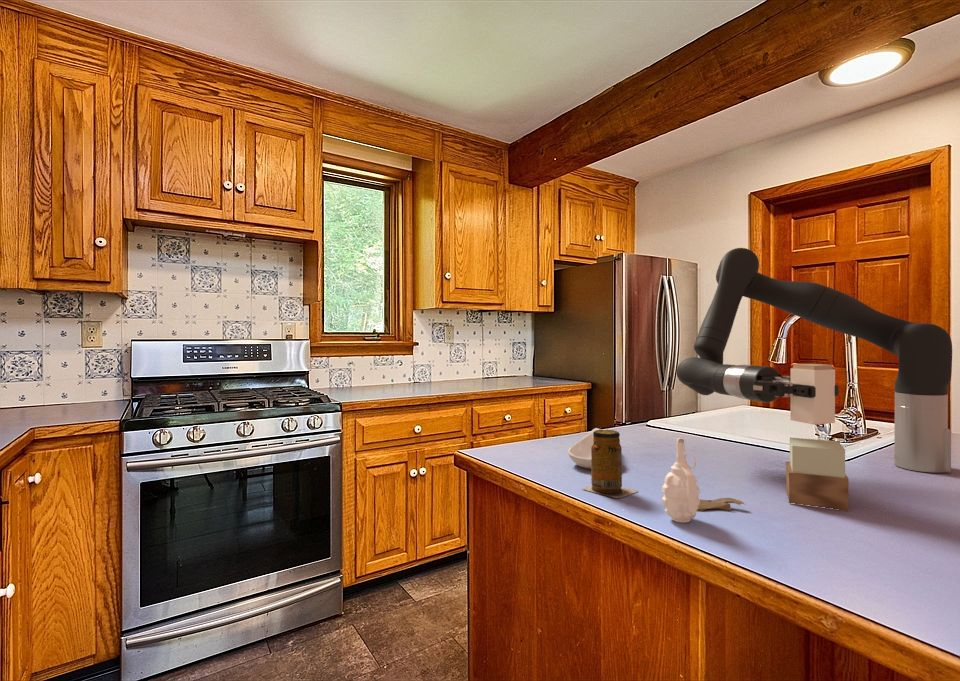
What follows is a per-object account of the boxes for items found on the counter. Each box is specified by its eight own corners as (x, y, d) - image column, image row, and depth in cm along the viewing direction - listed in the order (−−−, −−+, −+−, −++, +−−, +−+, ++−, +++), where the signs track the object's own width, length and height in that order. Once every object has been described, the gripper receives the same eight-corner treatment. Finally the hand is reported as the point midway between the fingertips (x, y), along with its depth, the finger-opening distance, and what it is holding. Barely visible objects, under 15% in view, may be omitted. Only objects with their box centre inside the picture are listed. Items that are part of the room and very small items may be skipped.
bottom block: (840, 497, 98) (840, 466, 98) (848, 512, 90) (848, 478, 90) (785, 491, 102) (785, 461, 102) (789, 505, 94) (789, 472, 94)
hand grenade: (655, 513, 90) (654, 435, 89) (689, 512, 90) (688, 434, 90) (675, 530, 82) (674, 444, 82) (711, 528, 83) (711, 443, 83)
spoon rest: (614, 475, 114) (614, 444, 114) (563, 471, 119) (562, 440, 118) (626, 452, 136) (625, 425, 136) (582, 448, 141) (581, 423, 140)
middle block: (838, 467, 97) (838, 441, 97) (845, 478, 90) (845, 450, 90) (789, 462, 101) (789, 437, 101) (792, 472, 94) (792, 445, 94)
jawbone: (706, 522, 88) (705, 511, 88) (634, 490, 107) (633, 480, 107) (746, 512, 91) (745, 500, 91) (669, 482, 110) (668, 472, 110)
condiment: (603, 482, 109) (603, 427, 108) (638, 492, 102) (637, 432, 102) (581, 489, 104) (581, 431, 104) (616, 500, 97) (616, 438, 97)
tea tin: (810, 418, 99) (810, 363, 99) (834, 422, 94) (835, 365, 94) (790, 420, 98) (790, 364, 97) (814, 424, 93) (814, 365, 93)
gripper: (724, 366, 107) (795, 372, 91) (777, 364, 111) (854, 369, 95) (724, 401, 108) (795, 414, 91) (777, 398, 112) (854, 409, 95)
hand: (825, 391), depth 93 cm, fingers closed on tea tin, 5 cm apart
